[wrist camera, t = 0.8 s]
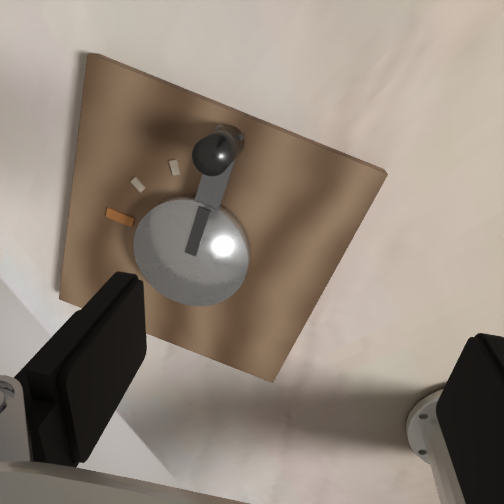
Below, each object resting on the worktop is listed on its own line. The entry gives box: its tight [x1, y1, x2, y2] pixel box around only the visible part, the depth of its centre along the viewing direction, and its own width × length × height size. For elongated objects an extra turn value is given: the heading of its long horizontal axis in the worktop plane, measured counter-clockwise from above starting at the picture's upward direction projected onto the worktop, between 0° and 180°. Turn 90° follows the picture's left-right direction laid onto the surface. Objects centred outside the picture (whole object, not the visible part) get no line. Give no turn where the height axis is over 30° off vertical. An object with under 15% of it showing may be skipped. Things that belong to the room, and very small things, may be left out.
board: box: [59, 53, 388, 383], centre depth 34 cm, size 24×24×2 cm
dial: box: [134, 124, 251, 306], centre depth 29 cm, size 16×10×6 cm, turn 160°
